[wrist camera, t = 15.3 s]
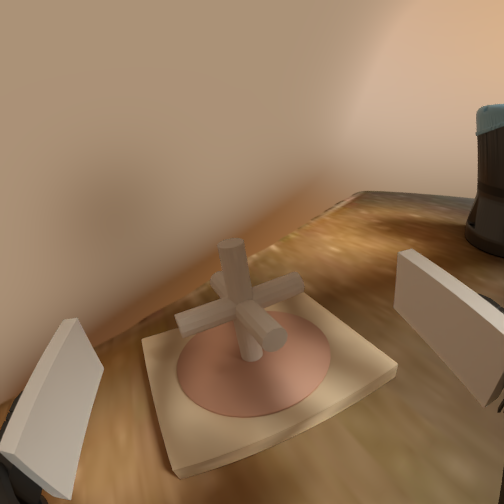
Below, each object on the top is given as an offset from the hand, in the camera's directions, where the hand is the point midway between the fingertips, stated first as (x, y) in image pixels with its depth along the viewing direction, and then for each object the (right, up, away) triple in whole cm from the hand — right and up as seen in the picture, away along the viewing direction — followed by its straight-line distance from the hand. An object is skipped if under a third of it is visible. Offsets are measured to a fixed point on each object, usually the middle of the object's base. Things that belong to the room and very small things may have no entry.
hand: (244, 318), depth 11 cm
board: (+1, -8, +14) cm, 16 cm away
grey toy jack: (0, -6, +13) cm, 15 cm away
